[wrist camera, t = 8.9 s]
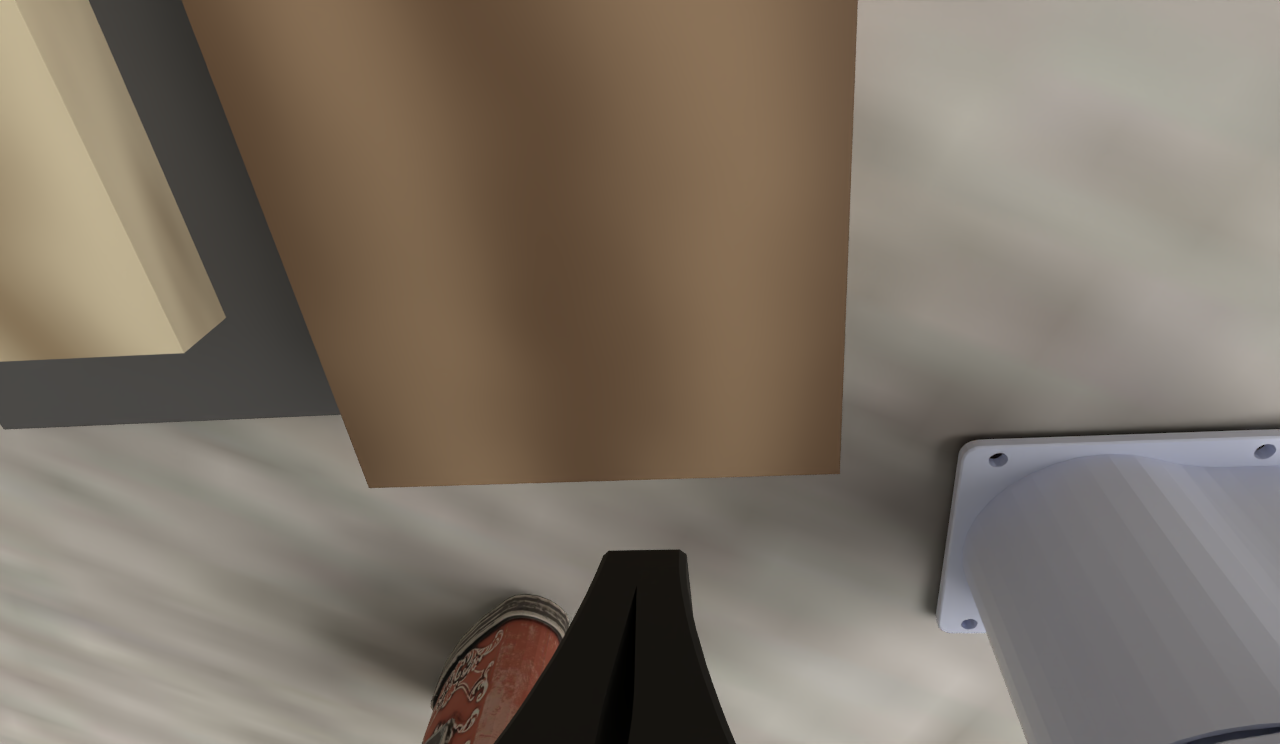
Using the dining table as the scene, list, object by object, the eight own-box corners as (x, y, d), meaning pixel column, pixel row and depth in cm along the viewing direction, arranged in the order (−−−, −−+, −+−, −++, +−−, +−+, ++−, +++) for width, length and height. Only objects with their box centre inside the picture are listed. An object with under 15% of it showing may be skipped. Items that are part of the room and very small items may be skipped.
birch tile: (-257, -5, 16) (-162, -14, 17) (-19, 362, 20) (38, 327, 22) (-3, -36, 15) (70, -42, 17) (184, 352, 20) (226, 317, 21)
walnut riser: (834, -383, 13) (875, -482, 10) (819, 384, 21) (839, 473, 18) (207, -274, 15) (54, -328, 11) (419, 402, 23) (369, 487, 20)
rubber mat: (207, -274, 15) (192, -280, 14) (419, 402, 23) (414, 411, 23) (-377, -173, 16) (-406, -175, 16) (15, 420, 25) (4, 429, 24)
